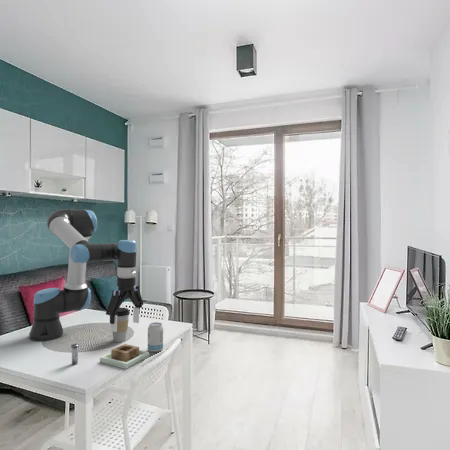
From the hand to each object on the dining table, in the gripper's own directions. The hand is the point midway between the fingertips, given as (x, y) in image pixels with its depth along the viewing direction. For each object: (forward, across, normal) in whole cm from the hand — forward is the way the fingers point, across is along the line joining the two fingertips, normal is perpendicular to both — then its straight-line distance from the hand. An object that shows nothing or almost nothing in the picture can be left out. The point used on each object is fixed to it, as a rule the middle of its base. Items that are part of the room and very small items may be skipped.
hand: (125, 326), depth 145 cm
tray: (+14, 0, -1) cm, 14 cm away
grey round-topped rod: (+14, -13, +14) cm, 24 cm away
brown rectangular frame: (+13, 0, -1) cm, 13 cm away
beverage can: (+14, +14, -6) cm, 20 cm away
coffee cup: (+14, +17, +18) cm, 29 cm away
